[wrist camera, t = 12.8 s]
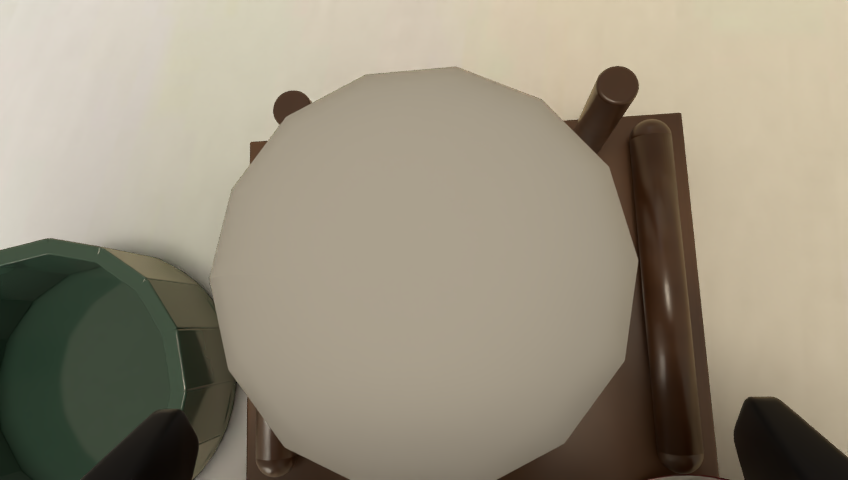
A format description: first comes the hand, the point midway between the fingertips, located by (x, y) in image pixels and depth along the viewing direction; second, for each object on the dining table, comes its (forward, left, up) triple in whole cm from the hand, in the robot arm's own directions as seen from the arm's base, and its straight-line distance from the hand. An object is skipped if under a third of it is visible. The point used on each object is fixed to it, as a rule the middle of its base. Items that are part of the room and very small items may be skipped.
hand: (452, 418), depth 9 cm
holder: (+10, +7, -10) cm, 16 cm away
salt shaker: (+1, -2, -8) cm, 9 cm away
